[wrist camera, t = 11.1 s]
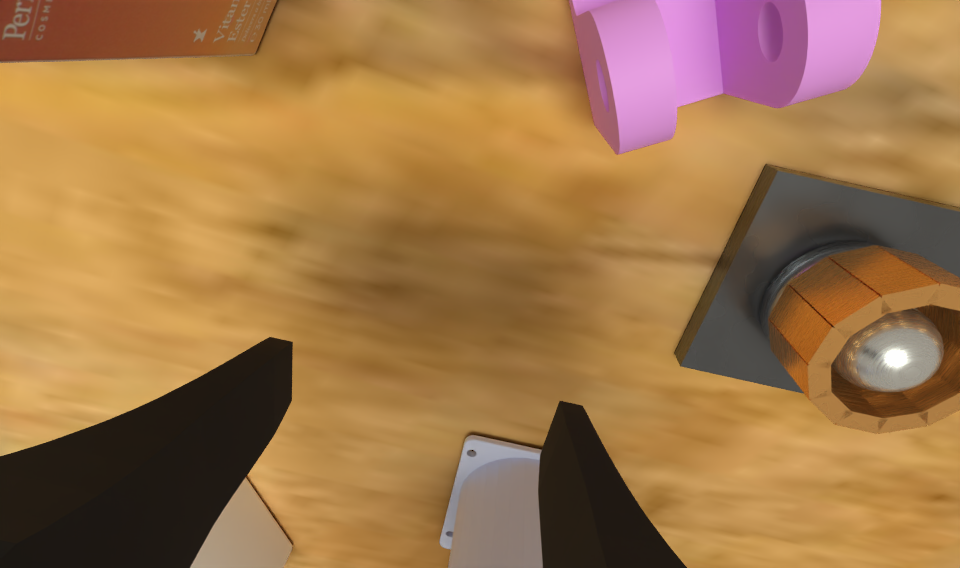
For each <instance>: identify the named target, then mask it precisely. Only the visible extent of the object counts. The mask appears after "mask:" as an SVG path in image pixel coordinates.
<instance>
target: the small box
mask: <svg viewBox="0 0 960 568" xmlns="http://www.w3.org/2000/svg"><path fill="white" fill-rule="evenodd" d="M276 1H277V0H0V63H14V62H55V61H86V60H119V59H157V58H184V57H195V58H196V57H222V56H251V55H254V54H255V52H256V51H257V48H258V45H259V43H260V40H261V38H262V36H263V33H264V31H265V28H266V25H267V23H268V20H269V18H270V15H271V13H272V10H273V8H274V6H275V4H276Z"/></svg>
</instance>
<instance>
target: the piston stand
mask: <svg viewBox="0 0 960 568" xmlns="http://www.w3.org/2000/svg"><path fill="white" fill-rule="evenodd" d="M872 245H879V246H884V247H888V248H892V249H897V250H901V251H906V252H910V253H915V254H918V255H920V256H922V257H924V258H925V259H927V260H929V261H931V262H933V263H934V264H936V265H938V266H940V267H941V268H943V269H945V270H947V271H949V272H950V273H952V274H954V275H956V276H958V277H959V278H960V208H958V207H954V206H950V205H945V204H941V203H936V202H932V201H927V200H923V199H918V198H914V197H910V196H905V195H901V194H896V193H892V192H887V191H883V190H878V189H874V188H870V187H865V186H861V185H856V184H852V183H847V182H843V181H838V180H834V179H830V178H825V177H821V176H816V175H812V174H807V173H803V172H798V171H794V170H790V169H785V168H781V167H776V166H772V165H767V164H766V165H765V167H764V169H763V171H762V173H761V176H760V178H759V180H758V182H757V184H756V186H755V188H754V190H753V192H752V194H751V196H750V198H749V200H748V202H747V204H746V207H745V209H744V211H743V213H742V215H741V217H740V219H739V221H738V223H737V225H736V227H735V229H734V231H733V233H732V235H731V237H730V240H729V242H728V244H727V246H726V248H725V250H724V252H723V254H722V256H721V258H720V260H719V262H718V264H717V266H716V268H715V270H714V273H713V275H712V277H711V279H710V281H709V283H708V285H707V287H706V289H705V291H704V293H703V295H702V297H701V299H700V301H699V304H698V306H697V308H696V310H695V312H694V314H693V316H692V318H691V320H690V322H689V324H688V326H687V328H686V330H685V332H684V334H683V337H682V339H681V341H680V343H679V345H678V347H677V349H676V351H675V355H676V358H677V360H678V362H679V364H680V366H682V367H686V368H691V369H695V370H700V371H704V372H709V373H713V374H718V375H722V376H727V377H731V378H736V379H740V380H745V381H750V382H754V383H759V384H763V385H768V386H772V387H777V388H781V389H786V390H790V391H795V392H799V393H804V392H803V391H802V390H801V389H800V387H799V386H798V385H797V383H796V382H795V381H794V379H793V378H792V377H791V376H790V374H789V373H788V372H787V370H786V369H785V368H784V366H783V365H782V364H781V363H780V361H779V360H778V359H777V357H776V356H775V355H774V353H773V352H772V351H771V348H770V337H769V325H768V319H769V318H768V317H769V315H770V313H771V312H772V310H773V308H774V306H775V305H776V303H777V301H778V300H779V298H780V296H781V294H782V293H783V291H784V289H785V287H786V286H787V284H788V285H790V284H789V282H791V281H792V280H794V279H795V278H796V277H798V276H799V275H801V274H802V273H804V272H805V271H806V270H808V269H809V268H811V267H812V266H814V265H815V264H816V263H818V262H819V261H821V260H822V259H824V258H825V257H827V258H828V256H829V255H834V254H838V253H842V252H847V251H851V250H855V249H859V248H864V247H868V246H872ZM943 354H944V345H943V341H942V337H941V335H940V333H939V331H938V329H937V327H936V326H935V325H934V323H933V322H932V321H931V320H930V319H929V318H928V317H927V316H925V315H924V314H923V313H921V312H920V311H919V310H917V308H912V309H907V310H902V311H897V312H892V313H887V314H886V315H884V316H882V317H881V318H879V319H878V320H876V321H874V322H873V323H871V324H869V325H868V326H866V327H865V328H863V329H861V330H860V331H858V332H856V333H855V334H853V335H852V336H850V338H849V339H848V341H847V342H846V343H845V345H844V346H843V348H842V349H841V351H840V352H839V354H838V355H837V357H836V358H835V360H834V361H833V362H832V364H831V366H832V367H833V368H834V370H835V371H836V372H837V373H839V374H840V375H841V376H842V377H843V378H844V379H846V380H847V381H849V382H851V383H852V384H855V385H857V386H859V387H861V388H865V389H868V390H871V391H878V392H900V391H905V390H909V389H912V388H915V387H917V386H919V385H921V384H923V383H925V382H926V381H927V380H929V379H930V378H931V377H932V376H933V375H934V374H935V373H936V371H937V370H938V368H939V367H940V365H941V362H942V359H943Z"/></svg>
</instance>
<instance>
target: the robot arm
mask: <svg viewBox="0 0 960 568" xmlns="http://www.w3.org/2000/svg"><path fill="white" fill-rule="evenodd" d="M292 346H293V342H290V341H286V340H281V339H277V338H272V337H269V338H267V339H265V340H264V341H262V342H260V343H258V344H257V345H255V346H253V347H251V348H250V349H248V350H246V351H245V352H243V353H241V354H239V355H238V356H236V357H234V358H233V359H231V360H229V361H227V362H226V363H224V364H222V365H220V366H219V367H217V368H215V369H213V370H211V371H210V372H208V373H206V374H204V375H202V376H201V377H199V378H197V379H195V380H193V381H191V382H189V383H187V384H185V385H183V386H181V387H179V388H177V389H175V390H173V391H171V392H169V393H167V394H165V395H164V396H162V397H160V398H158V399H155V400H153V401H151V402H149V403H147V404H145V405H142V406H140V407H138V408H136V409H133V410H131V411H129V412H126V413H124V414H121V415H119V416H117V417H114V418H112V419H110V420H107V421H104V422H102V423H99V424H97V425H94V426H91V427H88V428H86V429H83V430H80V431H77V432H74V433H72V434H69V435H66V436H63V437H61V438H58V439H55V440H52V441H49V442H46V443H43V444H40V445H37V446H34V447H30V448H27V449H24V450H21V451H18V452H14V453H11V454H7V455H4V456H0V568H190V567H191V565H192V563H193V561H194V560H195V558H196V556H197V554H198V552H199V551H200V549H201V547H202V545H203V543H204V542H205V540H206V538H207V536H208V534H209V533H210V531H211V529H212V527H213V526H214V524H215V522H216V521H217V519H218V518H219V516H220V514H221V513H222V511H223V510H224V508H225V507H226V505H227V504H228V502H229V501H230V499H231V498H232V496H233V495H234V493H235V492H236V491H237V489H238V488H239V486H240V485H241V483H242V482H243V480H244V479H245V477H246V476H247V474H248V473H249V472H250V470H251V469H252V467H253V466H254V464H255V463H256V461H257V460H258V458H259V457H260V455H261V454H262V452H263V451H264V449H265V448H266V447H267V445H268V444H269V442H270V441H271V439H272V437H273V436H274V434H275V433H276V431H277V429H278V427H279V425H280V423H281V421H282V419H283V417H284V415H285V413H286V411H287V409H288V407H289V405H290V403H291V401H292ZM470 450H474V451H470ZM440 545H441V546H442V547H443V548H446V549H451V552H450V558H449V565H448V568H687V567H686V566H685V565H684V564H683V562H682V561H681V560H680V559H679V558H678V556H677V555H676V554H675V553H674V552H673V550H672V549H671V548H670V547H669V545H668V544H667V543H666V541H665V540H664V539H663V538H662V536H661V535H660V534H659V532H658V531H657V530H656V528H655V527H654V526H653V524H652V523H651V522H650V520H649V519H648V517H647V516H646V515H645V513H644V512H643V510H642V509H641V507H640V506H639V504H638V503H637V501H636V500H635V498H634V497H633V495H632V493H631V492H630V490H629V489H628V487H627V486H626V484H625V482H624V481H623V479H622V477H621V476H620V474H619V472H618V470H617V469H616V467H615V465H614V464H613V462H612V460H611V458H610V457H609V455H608V453H607V451H606V449H605V448H604V446H603V444H602V442H601V440H600V438H599V436H598V434H597V432H596V430H595V429H594V427H593V425H592V423H591V421H590V419H589V417H588V415H587V413H586V411H585V409H584V408H583V406H581V405H577V404H572V403H568V402H563V401H560V402H559V404H558V407H557V410H556V413H555V415H554V418H553V421H552V424H551V426H550V429H549V432H548V434H547V437H546V440H545V443H544V445H543V448H542V450H540V449H536V448H531V447H527V446H522V445H518V444H513V443H508V442H504V441H499V440H495V439H490V438H486V437H481V436H476V435H471V436H468V437H467V438H466V439H465V442H464V446H463V450H462V454H461V458H460V462H459V466H458V469H457V473H456V477H455V481H454V485H453V489H452V493H451V497H450V501H449V505H448V509H447V513H446V517H445V521H444V525H443V528H442V532H441V536H440Z"/></svg>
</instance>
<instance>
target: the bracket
mask: <svg viewBox="0 0 960 568" xmlns="http://www.w3.org/2000/svg"><path fill="white" fill-rule="evenodd" d="M569 4H570V9H571V14H572V18H573V23H574V28H575V33H576V38H577V43H578V47H579V52H580V57H581V62H582V67H583V72H584V77H585V81H586V86H587V91H588V96H589V101H590V106H591V110H592V115H593V120H594V125H595V126H596V128H597V129H598V130H599V132H600V133H601V134H602V136H603V137H604V138H605V140H606V141H607V142H608V144H609V145H610V146H611V148H612V149H613V150H614V152H615V153H616V154H617V155H618V154H621V153H625V152H628V151H632V150H635V149H639V148H642V147H646V146H649V145H653V144H656V143H660V142H663V141H667V140H670V139H671V138H672V137H673V136H674V133H675V129H676V122H677V107H680V106H683V105H686V104H690V103H693V102H696V101H700V100H703V99H706V98H709V97H713V96H716V95H719V94H723V93H724V94H728V95H731V96H735V97H738V98H742V99H745V100H749V101H752V102H756V103H760V104H763V105H767V106H770V107H774V108H781V107H785V106H788V105H792V104H795V103H799V102H802V101H806V100H809V99H813V98H816V97H820V96H823V95H827V94H830V93H834V92H837V91H841V90H844V89H846V88H848V87H850V86H851V85H852V84H854V83H855V82H856V81H857V80H858V78H859V77H860V76H861V75H862V73H863V72H864V70H865V68H866V67H867V65H868V63H869V61H870V58H871V56H872V53H873V50H874V47H875V44H876V40H877V36H878V31H879V25H880V15H881V0H569Z"/></svg>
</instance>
